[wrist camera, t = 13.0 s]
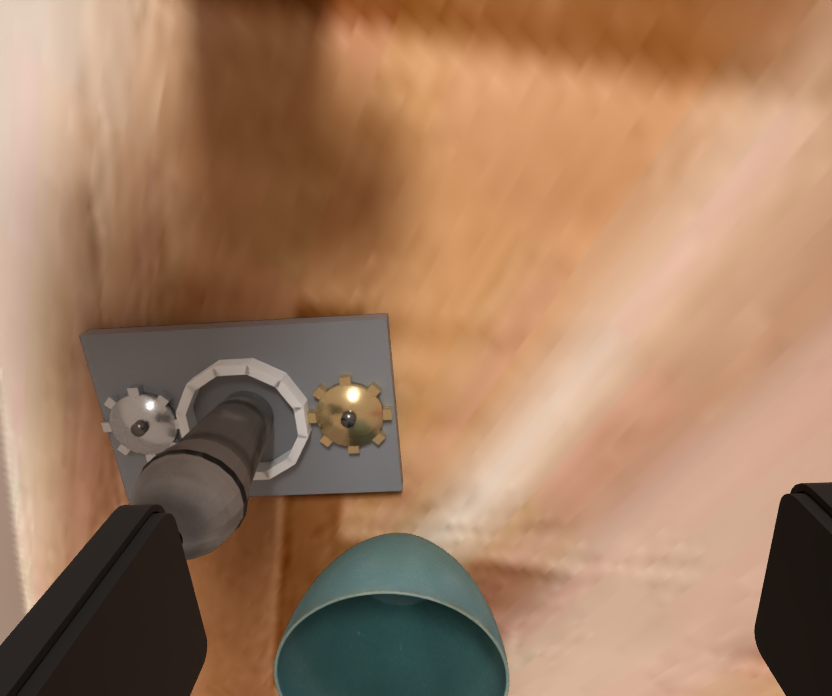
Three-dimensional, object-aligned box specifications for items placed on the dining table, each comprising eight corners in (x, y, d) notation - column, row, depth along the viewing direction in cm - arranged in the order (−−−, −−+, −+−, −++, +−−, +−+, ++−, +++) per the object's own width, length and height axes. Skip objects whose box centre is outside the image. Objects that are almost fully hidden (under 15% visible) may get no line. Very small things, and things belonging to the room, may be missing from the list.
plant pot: (523, 604, 56) (545, 726, 44) (361, 658, 59) (343, 784, 48) (446, 461, 50) (449, 558, 39) (273, 530, 54) (228, 638, 42)
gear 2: (303, 375, 46) (299, 384, 44) (388, 371, 46) (387, 379, 44) (315, 450, 48) (311, 460, 47) (395, 446, 48) (394, 456, 47)
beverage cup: (241, 465, 49) (123, 669, 31) (186, 402, 47) (23, 579, 29) (307, 426, 48) (224, 616, 29) (253, 359, 46) (126, 518, 27)
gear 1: (96, 386, 47) (85, 394, 46) (177, 381, 47) (169, 390, 45) (117, 458, 49) (107, 468, 48) (195, 455, 49) (187, 465, 48)
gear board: (89, 329, 47) (67, 342, 44) (387, 313, 45) (384, 325, 43) (136, 491, 52) (119, 511, 50) (403, 481, 51) (400, 501, 48)
